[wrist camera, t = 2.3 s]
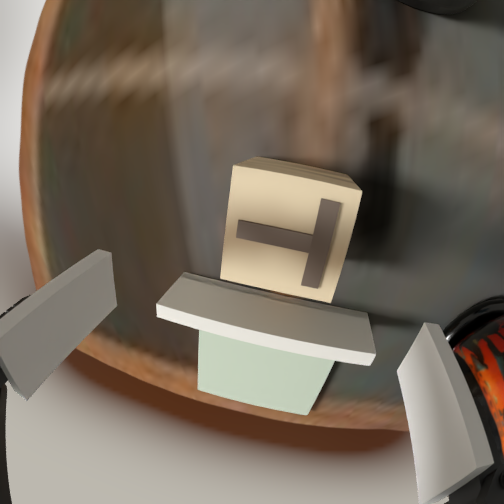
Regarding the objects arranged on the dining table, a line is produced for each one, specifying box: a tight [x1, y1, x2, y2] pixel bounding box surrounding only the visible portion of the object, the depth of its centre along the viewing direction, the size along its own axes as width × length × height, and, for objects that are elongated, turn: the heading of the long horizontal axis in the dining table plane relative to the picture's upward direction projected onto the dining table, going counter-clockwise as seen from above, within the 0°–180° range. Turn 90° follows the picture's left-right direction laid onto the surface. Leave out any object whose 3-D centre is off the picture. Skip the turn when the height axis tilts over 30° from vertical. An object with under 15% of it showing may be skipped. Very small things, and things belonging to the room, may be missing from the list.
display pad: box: [198, 330, 335, 415], centre depth 33 cm, size 14×16×1 cm
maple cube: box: [220, 157, 362, 303], centre depth 22 cm, size 8×8×8 cm
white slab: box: [156, 272, 376, 366], centre depth 27 cm, size 3×20×6 cm, turn 81°
